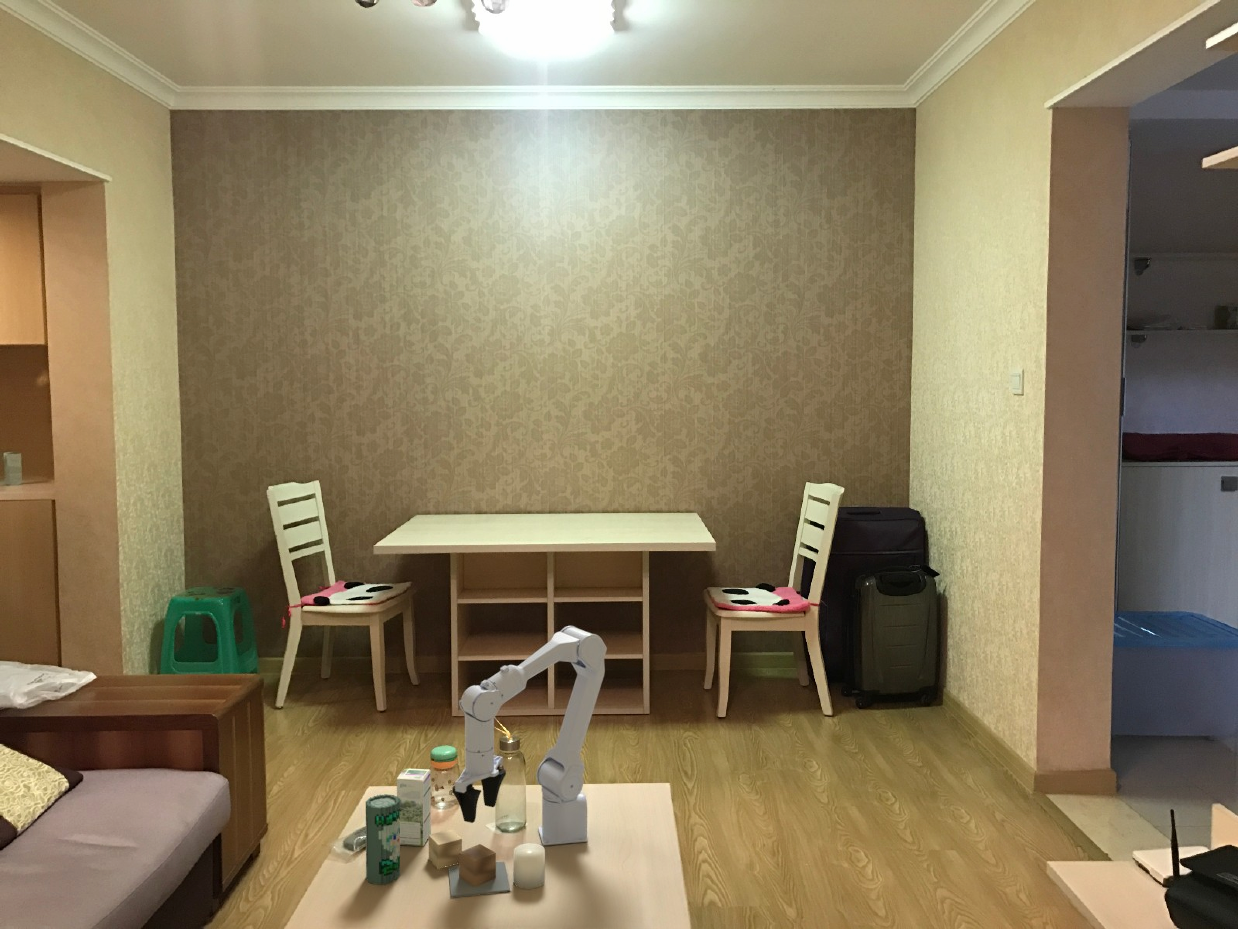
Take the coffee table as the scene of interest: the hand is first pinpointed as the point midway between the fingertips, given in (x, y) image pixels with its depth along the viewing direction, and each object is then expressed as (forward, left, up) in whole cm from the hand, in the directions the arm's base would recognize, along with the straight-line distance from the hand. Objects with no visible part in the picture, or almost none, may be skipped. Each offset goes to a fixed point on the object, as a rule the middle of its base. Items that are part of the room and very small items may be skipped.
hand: (479, 813), depth 191 cm
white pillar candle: (-9, +10, -10) cm, 16 cm away
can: (+19, +3, -10) cm, 21 cm away
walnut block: (+1, +7, -9) cm, 12 cm away
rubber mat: (+1, +8, -10) cm, 12 cm away
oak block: (+7, -1, -10) cm, 12 cm away
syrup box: (+13, -11, -10) cm, 20 cm away
